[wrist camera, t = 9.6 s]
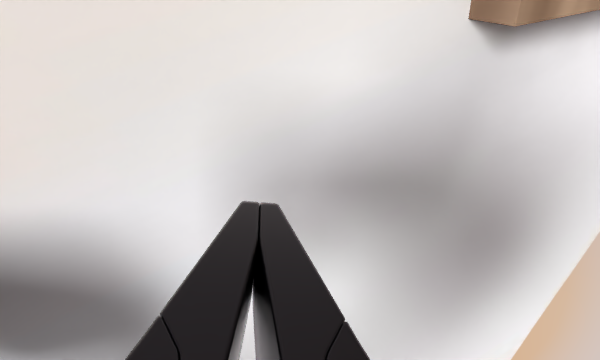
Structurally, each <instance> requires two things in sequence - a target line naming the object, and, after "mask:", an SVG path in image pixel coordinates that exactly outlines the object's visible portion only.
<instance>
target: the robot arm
mask: <svg viewBox="0 0 600 360" xmlns="http://www.w3.org/2000/svg"><path fill="white" fill-rule="evenodd" d="M252 288H253V317H254V335H255V353H256V360H370V359H369V357H368V356H367V354H366V352H365V351H364V349H363V348H362V346H361V344H360V343H359V341H358V340H357V338H356V336H355V334H354V333H353V331H352V329H351V328H350V326H349V324H348V323H347V322H344V321H345V318H344V316H343V314H342V313H341V311H340V309H339V307H338V306H337V304H336V302H335V301H334V299H333V297H332V296H331V294H330V292H329V290H328V289H327V287H326V285H325V284H324V282H323V280H322V278H321V277H320V275H319V273H318V272H317V270H316V268H315V267H314V265H313V263H312V261H311V260H310V258H309V256H308V255H307V253H306V251H305V250H304V248H303V246H302V244H301V243H300V241H299V239H298V238H297V236H296V234H295V232H294V231H293V229H292V227H291V226H290V224H289V222H288V221H287V219H286V217H285V215H284V214H283V212H282V210H281V209H280V207H279V205H277V204H275V203H261V204H259V203H258V202H249V201H243V202H241V203H240V205H239V206H238V207H237V209H236V210H235V211H234V213H233V214H232V216H231V217H230V218H229V220H228V221H227V222H226V224H225V225H224V227H223V228H222V229H221V231H220V232H219V233H218V235H217V236H216V238H215V239H214V240H213V242H212V243H211V244H210V246H209V247H208V248H207V250H206V251H205V253H204V254H203V255H202V257H201V258H200V259H199V261H198V262H197V264H196V265H195V266H194V268H193V269H192V270H191V272H190V273H189V275H188V276H187V277H186V279H185V280H184V281H183V283H182V284H181V285H180V287H179V288H178V290H177V291H176V292H175V294H174V295H173V296H172V298H171V299H170V301H169V302H168V303H167V305H166V306H165V307H164V309H163V310H162V311H161V313H160V316H158V317H157V318H156V319H155V321H154V322H153V324H152V325H151V326H150V328H149V329H148V330H147V332H146V333H145V334H144V336H143V337H142V338H141V340H140V341H139V342H138V343H137V345H136V346H135V347H134V349H133V350H132V351H131V353H130V354H129V355H128V356H127V358H126V359H125V360H239V357H240V352H241V347H242V342H243V337H244V332H245V327H246V322H247V317H248V312H249V307H250V302H251V296H252Z"/></svg>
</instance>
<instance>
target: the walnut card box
mask: <svg viewBox="0 0 600 360" xmlns="http://www.w3.org/2000/svg"><path fill="white" fill-rule="evenodd" d="M596 10H600V0H471V6H470V13H469V19H472V20H478V21H485V22H491V23H497V24H503V25H509V26H520V25H525V24H530V23H535V22H540V21H545V20H550V19H555V18H560V17H565V16H570V15H575V14H581V13H586V12H591V11H596Z"/></svg>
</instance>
